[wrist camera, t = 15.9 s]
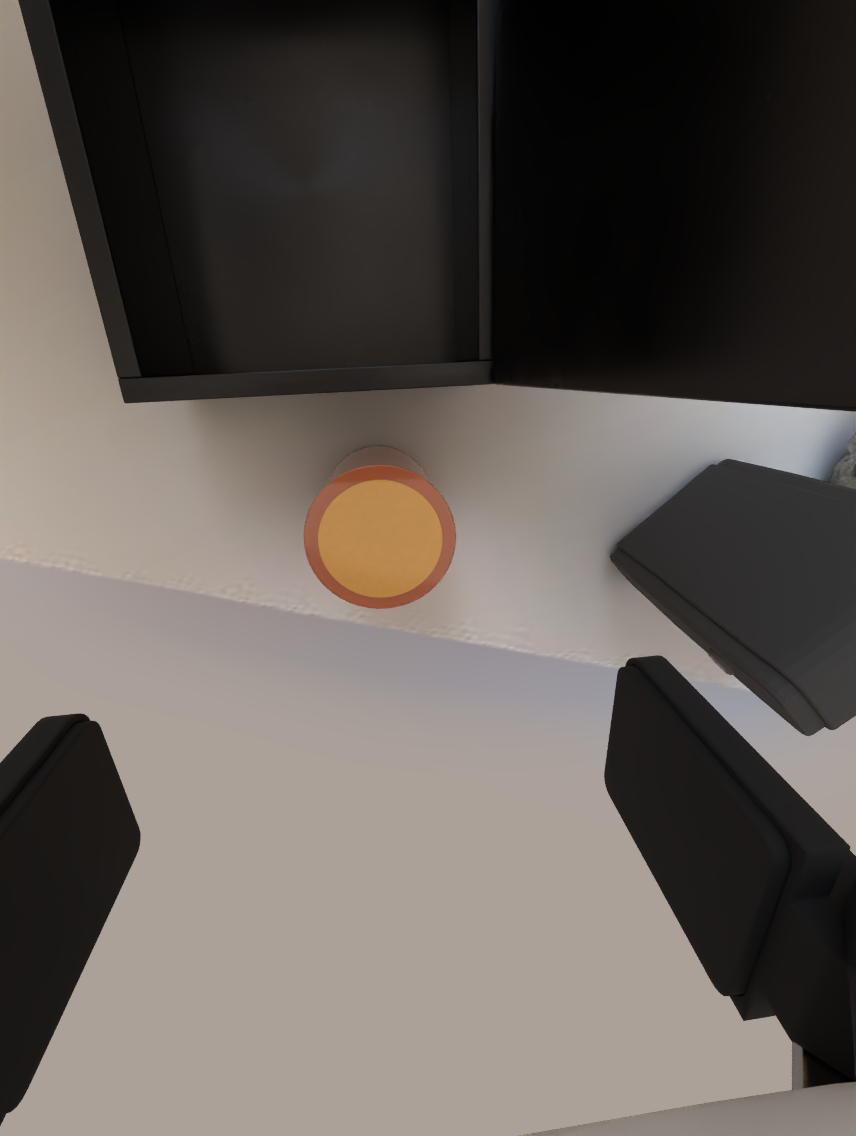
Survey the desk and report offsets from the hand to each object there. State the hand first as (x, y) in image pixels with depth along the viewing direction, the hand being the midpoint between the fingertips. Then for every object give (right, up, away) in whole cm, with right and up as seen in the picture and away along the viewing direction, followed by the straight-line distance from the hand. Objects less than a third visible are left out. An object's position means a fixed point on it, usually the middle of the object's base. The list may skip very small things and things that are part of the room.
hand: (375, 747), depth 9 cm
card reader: (+16, +6, +22) cm, 28 cm away
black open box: (-5, +21, +14) cm, 25 cm away
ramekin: (-2, +7, +19) cm, 21 cm away
